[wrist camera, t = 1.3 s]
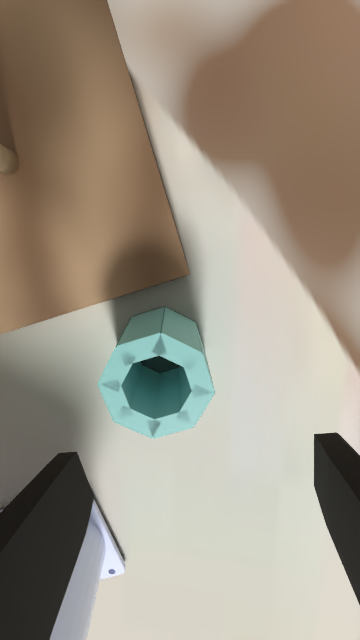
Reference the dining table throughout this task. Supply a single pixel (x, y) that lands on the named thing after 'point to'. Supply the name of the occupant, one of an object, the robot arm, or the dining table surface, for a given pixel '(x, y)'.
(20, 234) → the brown piece
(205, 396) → the teal bead
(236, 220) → the dining table surface
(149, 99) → the dining table surface
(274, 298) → the dining table surface
